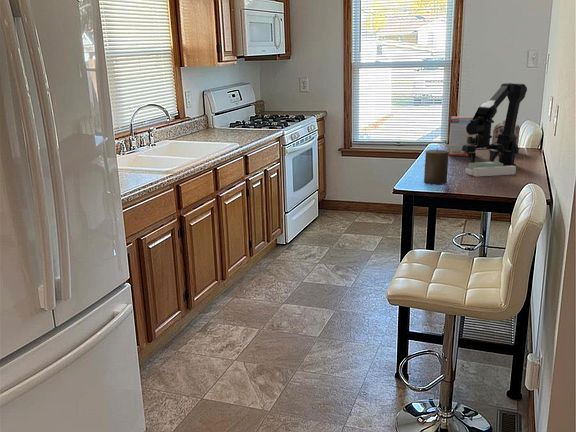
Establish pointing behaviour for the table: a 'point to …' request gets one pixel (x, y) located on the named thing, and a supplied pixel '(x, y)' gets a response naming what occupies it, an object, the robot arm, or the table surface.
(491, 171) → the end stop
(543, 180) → the table surface
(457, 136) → the cracker box
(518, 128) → the decorative jar
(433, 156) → the pillar candle
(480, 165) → the bar
